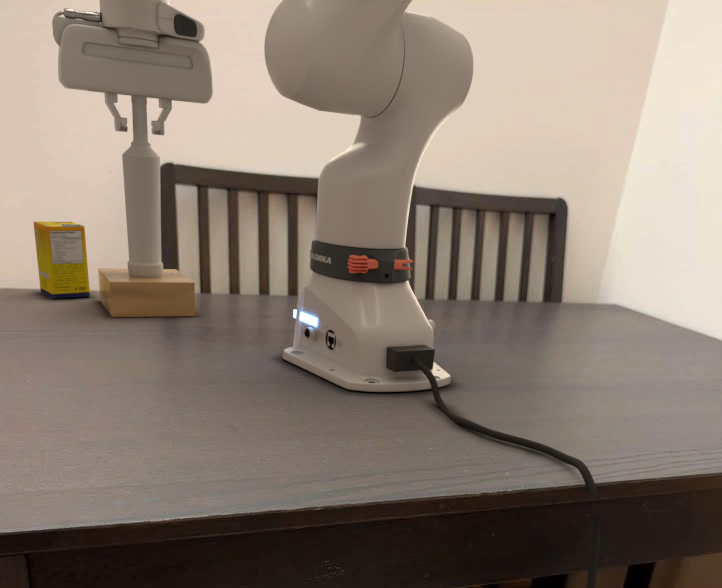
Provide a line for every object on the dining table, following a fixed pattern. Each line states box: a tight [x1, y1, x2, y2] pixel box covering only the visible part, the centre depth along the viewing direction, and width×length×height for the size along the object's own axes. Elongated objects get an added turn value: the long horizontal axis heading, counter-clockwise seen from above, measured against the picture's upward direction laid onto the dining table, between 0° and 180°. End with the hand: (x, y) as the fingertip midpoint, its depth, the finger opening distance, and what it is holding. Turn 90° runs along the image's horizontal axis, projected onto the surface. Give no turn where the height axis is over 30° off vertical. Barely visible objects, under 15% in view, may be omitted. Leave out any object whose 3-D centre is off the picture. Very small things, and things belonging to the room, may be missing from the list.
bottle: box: [121, 95, 164, 278], centre depth 105 cm, size 5×5×25 cm
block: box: [97, 267, 196, 318], centre depth 111 cm, size 12×12×5 cm
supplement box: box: [33, 221, 91, 300], centre depth 114 cm, size 6×6×11 cm
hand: (139, 133), depth 102 cm, fingers open, 4 cm apart
